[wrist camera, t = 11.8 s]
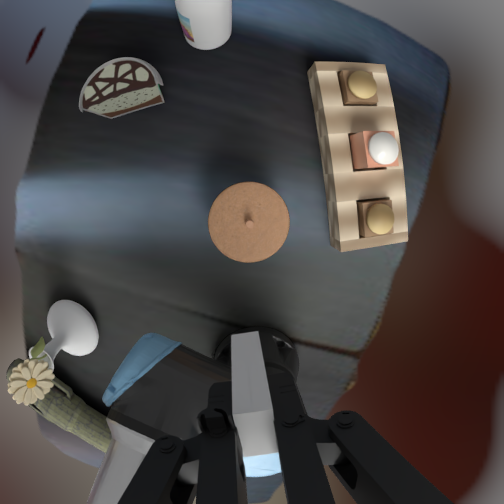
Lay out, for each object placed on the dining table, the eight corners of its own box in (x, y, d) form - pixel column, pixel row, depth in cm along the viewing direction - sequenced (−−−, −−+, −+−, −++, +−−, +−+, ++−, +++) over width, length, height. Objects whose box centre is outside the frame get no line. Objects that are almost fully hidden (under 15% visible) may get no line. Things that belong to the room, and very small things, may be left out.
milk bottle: (235, 17, 40) (238, -56, 20) (226, 53, 41) (225, -16, 22) (190, 13, 39) (173, -58, 20) (180, 49, 41) (154, -18, 21)
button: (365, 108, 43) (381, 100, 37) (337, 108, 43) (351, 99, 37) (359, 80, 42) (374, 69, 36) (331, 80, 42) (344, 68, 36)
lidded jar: (294, 212, 48) (309, 219, 39) (250, 264, 49) (255, 282, 40) (242, 167, 46) (244, 163, 37) (197, 221, 47) (189, 230, 38)
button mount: (393, 235, 50) (407, 241, 45) (330, 245, 49) (340, 252, 44) (372, 73, 43) (384, 64, 38) (307, 72, 43) (314, 61, 38)
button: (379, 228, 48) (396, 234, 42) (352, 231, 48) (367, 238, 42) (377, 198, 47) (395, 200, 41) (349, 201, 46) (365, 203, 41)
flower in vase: (86, 360, 51) (29, 444, 27) (44, 323, 49) (-29, 390, 25) (116, 319, 50) (52, 407, 25) (70, 277, 48) (-17, 339, 23)
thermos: (156, 449, 49) (10, 352, 43) (133, 482, 47) (-4, 392, 41) (157, 429, 58) (28, 342, 52) (136, 460, 56) (13, 380, 50)
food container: (168, 67, 41) (154, 42, 32) (173, 100, 43) (160, 80, 33) (99, 89, 41) (73, 71, 31) (103, 121, 42) (75, 109, 33)
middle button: (382, 167, 42) (402, 165, 37) (353, 169, 42) (371, 167, 36) (378, 135, 41) (397, 129, 36) (349, 136, 41) (365, 129, 35)
